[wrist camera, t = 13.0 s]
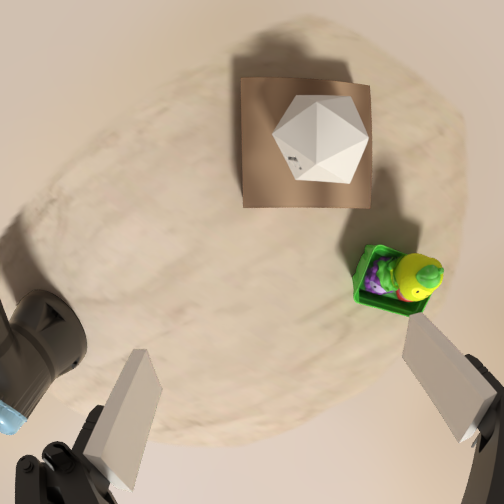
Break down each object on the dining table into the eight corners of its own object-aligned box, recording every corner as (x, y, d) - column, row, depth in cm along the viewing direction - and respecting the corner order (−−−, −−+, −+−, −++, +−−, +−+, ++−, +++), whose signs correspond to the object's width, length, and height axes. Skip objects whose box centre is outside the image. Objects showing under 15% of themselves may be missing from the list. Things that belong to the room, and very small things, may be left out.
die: (275, 96, 27) (245, 135, 21) (353, 72, 22) (352, 103, 16) (306, 158, 32) (288, 212, 26) (378, 142, 27) (381, 196, 21)
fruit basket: (339, 285, 37) (368, 329, 27) (364, 223, 35) (406, 249, 24) (403, 303, 38) (440, 344, 28) (427, 249, 36) (475, 278, 25)
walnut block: (244, 201, 35) (243, 207, 30) (242, 88, 30) (240, 77, 26) (355, 202, 35) (370, 208, 30) (354, 94, 30) (369, 85, 26)
